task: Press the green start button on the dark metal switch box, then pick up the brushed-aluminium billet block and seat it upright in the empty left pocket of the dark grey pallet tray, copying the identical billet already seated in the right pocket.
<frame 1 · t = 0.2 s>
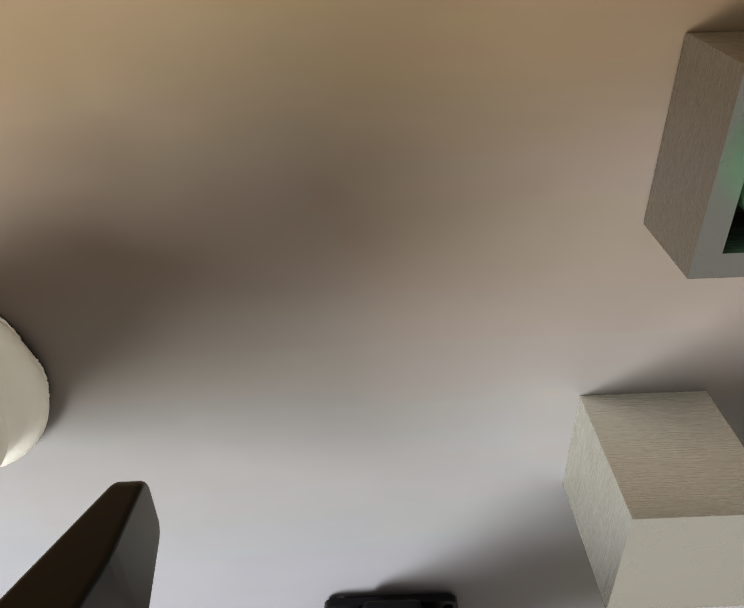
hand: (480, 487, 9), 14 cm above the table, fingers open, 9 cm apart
billet: (630, 438, 28), on the table
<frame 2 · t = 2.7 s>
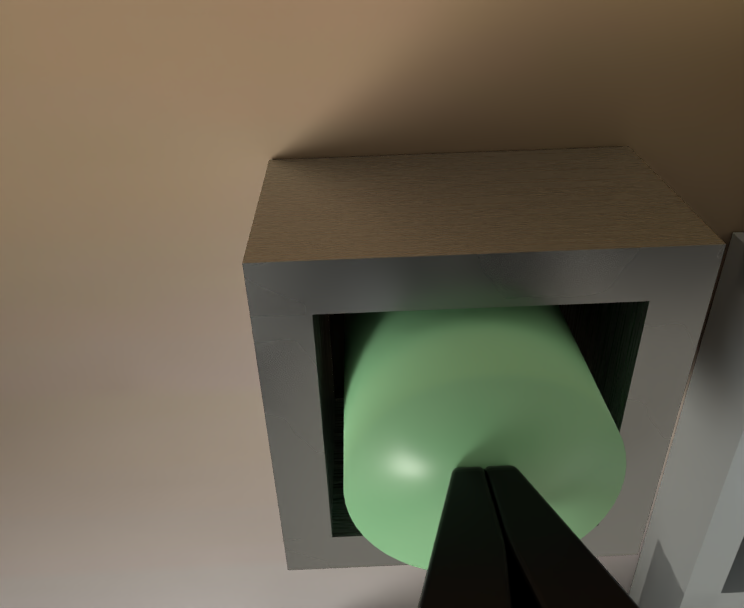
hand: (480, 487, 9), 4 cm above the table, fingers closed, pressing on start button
start button: (463, 389, 11), point 3 cm above the table, slide at 0.8 cm, touching gripper
switch box: (444, 304, 13), on the table
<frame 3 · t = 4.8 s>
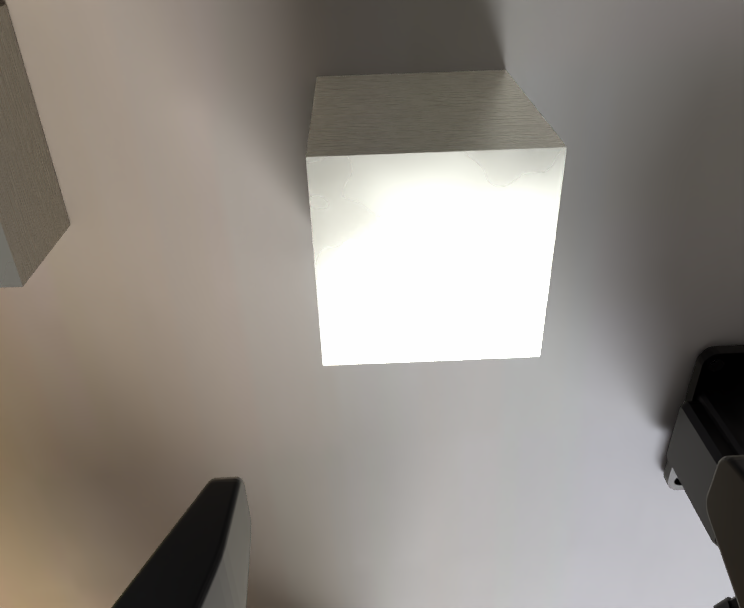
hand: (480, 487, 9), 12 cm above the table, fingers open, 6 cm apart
billet: (410, 162, 19), on the table
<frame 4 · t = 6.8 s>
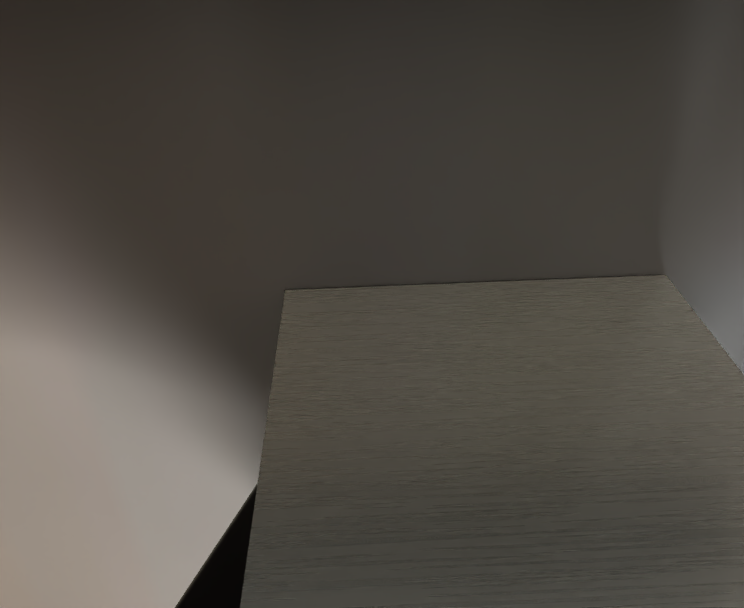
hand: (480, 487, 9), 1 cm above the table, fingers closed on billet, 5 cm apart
billet: (466, 424, 10), on the table, touching gripper
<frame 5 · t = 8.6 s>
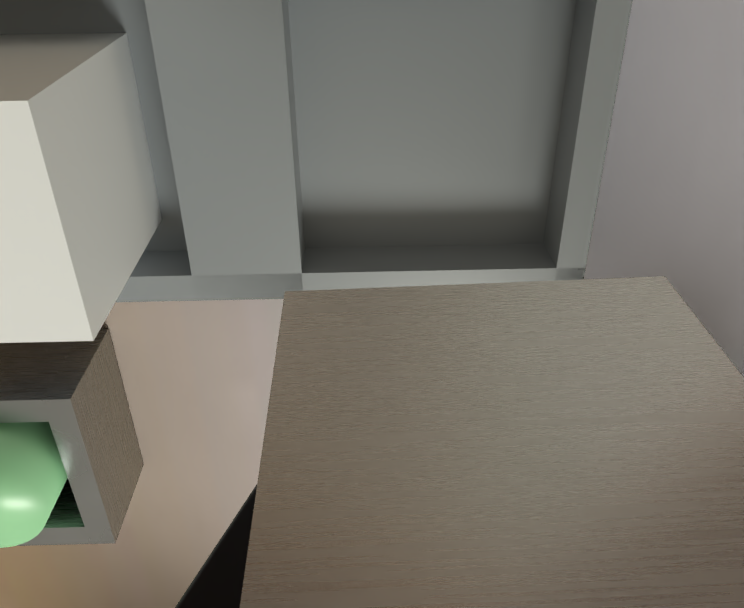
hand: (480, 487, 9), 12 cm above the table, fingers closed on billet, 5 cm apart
pallet: (242, 125, 19), on the table
start button: (8, 454, 21), point 2 cm above the table, slide at 0.8 cm
switch box: (39, 403, 23), on the table
billet: (466, 425, 10), point 11 cm above the table, touching gripper
when the fingers open (3 cm above the table, at t = 10.6 s): billet drops 2 cm, resting on pallet.
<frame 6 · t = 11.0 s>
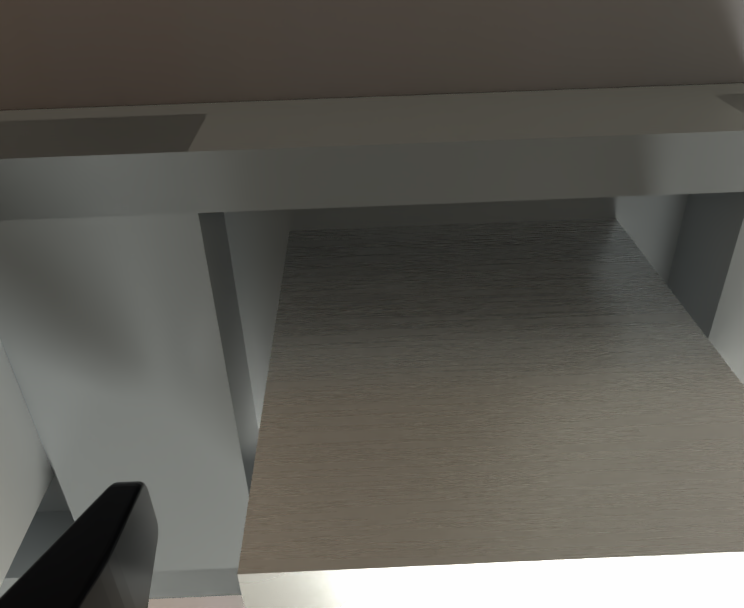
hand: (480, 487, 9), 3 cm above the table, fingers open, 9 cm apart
pallet: (166, 348, 12), on the table
billet: (447, 355, 12), resting on pallet
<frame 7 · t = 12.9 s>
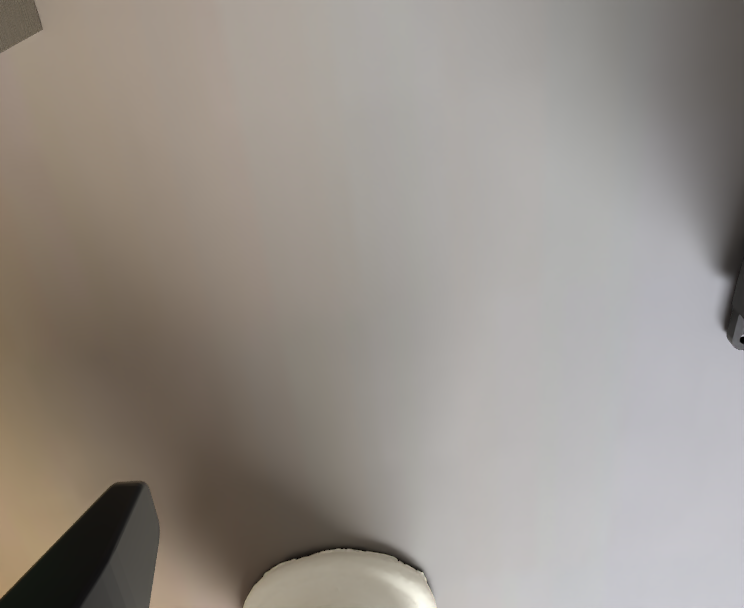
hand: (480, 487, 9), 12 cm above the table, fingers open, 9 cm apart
cherub figurine: (377, 588, 31), on the table
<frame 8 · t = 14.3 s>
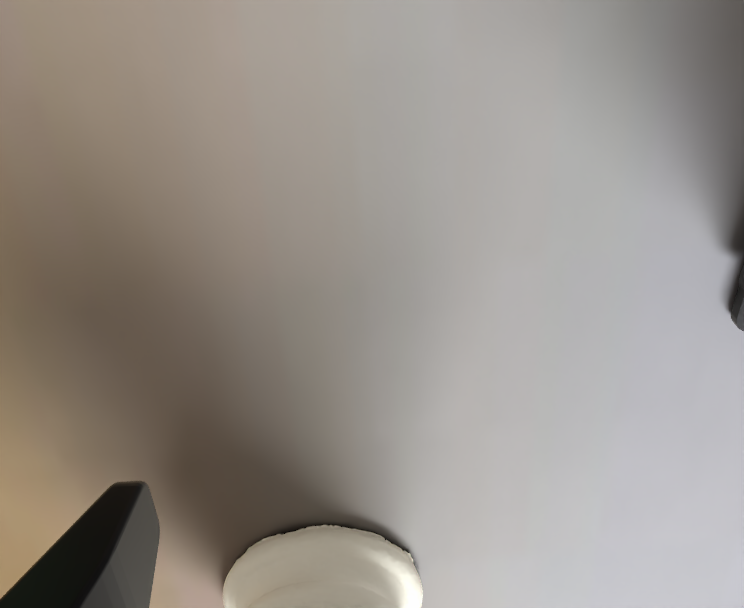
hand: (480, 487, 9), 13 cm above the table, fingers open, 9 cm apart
cherub figurine: (362, 569, 30), on the table
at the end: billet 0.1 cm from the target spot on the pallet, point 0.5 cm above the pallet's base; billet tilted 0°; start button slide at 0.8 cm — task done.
